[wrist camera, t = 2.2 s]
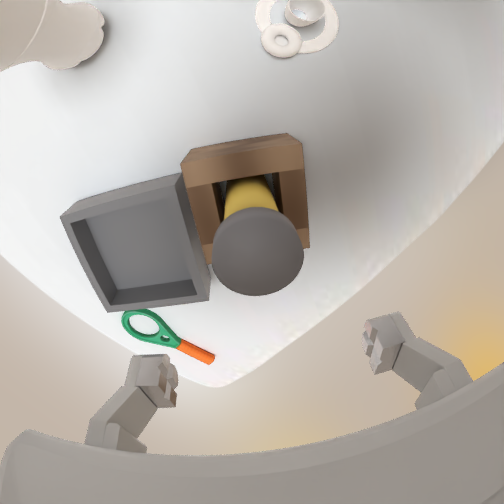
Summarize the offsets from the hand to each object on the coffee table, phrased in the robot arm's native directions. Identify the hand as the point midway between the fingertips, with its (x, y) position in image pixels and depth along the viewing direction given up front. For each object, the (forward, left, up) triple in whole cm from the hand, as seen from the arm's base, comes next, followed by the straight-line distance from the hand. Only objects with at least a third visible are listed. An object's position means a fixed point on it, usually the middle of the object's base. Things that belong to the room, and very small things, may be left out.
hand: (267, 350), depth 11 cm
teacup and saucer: (-5, -17, -20) cm, 27 cm away
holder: (0, 0, -20) cm, 20 cm away
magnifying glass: (+14, +20, -20) cm, 32 cm away
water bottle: (+13, -20, -20) cm, 31 cm away
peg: (0, 0, -20) cm, 20 cm away
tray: (+12, +4, -20) cm, 23 cm away
